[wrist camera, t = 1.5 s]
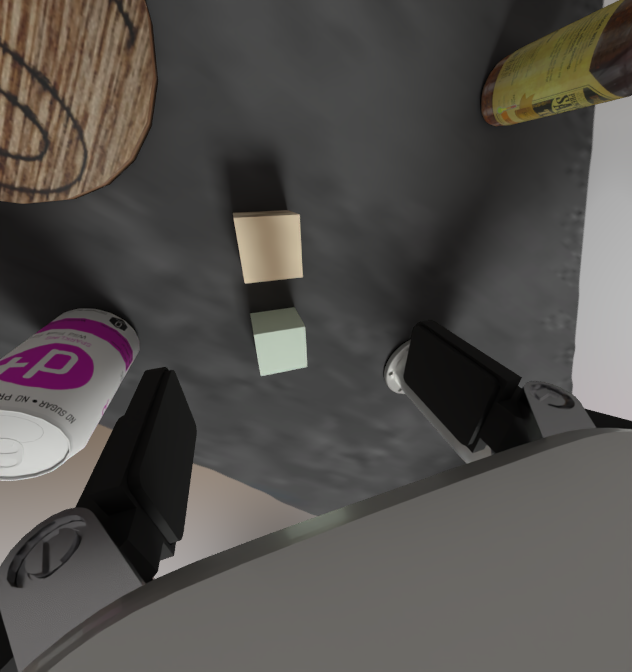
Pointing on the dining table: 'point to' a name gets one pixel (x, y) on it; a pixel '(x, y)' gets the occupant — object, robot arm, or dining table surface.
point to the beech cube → (269, 245)
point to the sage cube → (279, 340)
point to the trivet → (72, 95)
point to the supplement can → (60, 389)
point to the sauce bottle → (564, 69)
